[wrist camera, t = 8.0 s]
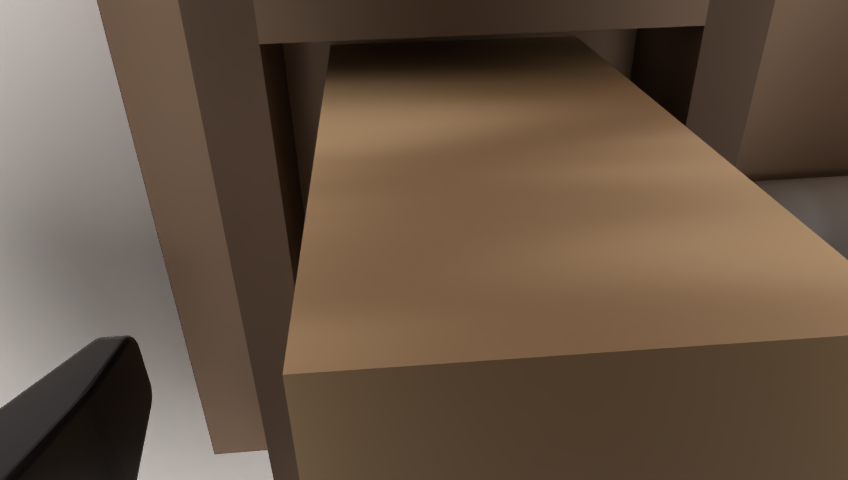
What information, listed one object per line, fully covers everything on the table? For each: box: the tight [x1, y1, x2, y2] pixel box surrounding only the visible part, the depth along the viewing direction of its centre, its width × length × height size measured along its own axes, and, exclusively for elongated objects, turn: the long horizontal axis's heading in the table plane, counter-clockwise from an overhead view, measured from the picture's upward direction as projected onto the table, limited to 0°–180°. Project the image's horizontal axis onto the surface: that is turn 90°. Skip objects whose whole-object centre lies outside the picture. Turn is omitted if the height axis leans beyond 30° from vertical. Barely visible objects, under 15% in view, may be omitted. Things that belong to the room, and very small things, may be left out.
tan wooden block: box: [282, 36, 848, 480], centre depth 8 cm, size 4×6×7 cm, turn 1°
